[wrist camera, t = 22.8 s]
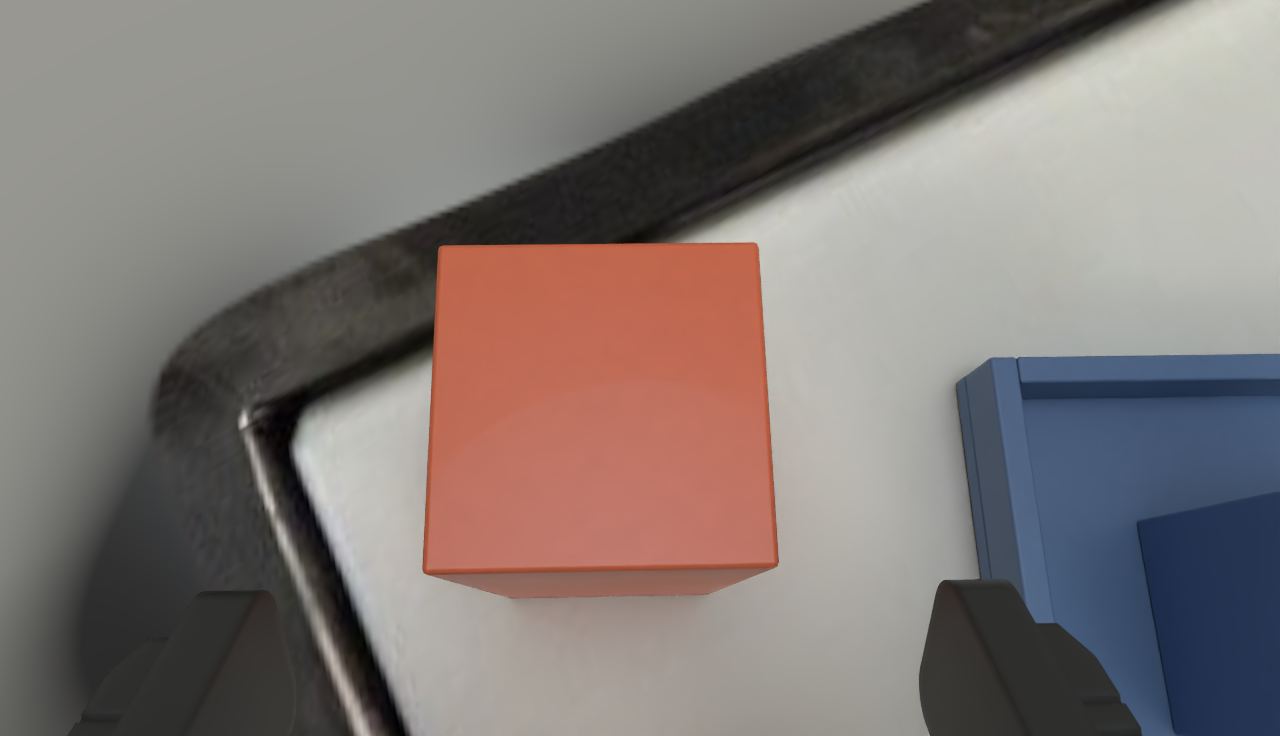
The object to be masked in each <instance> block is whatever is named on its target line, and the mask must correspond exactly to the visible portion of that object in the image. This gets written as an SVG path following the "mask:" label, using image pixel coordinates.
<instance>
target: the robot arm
mask: <svg viewBox="0 0 1280 736" xmlns="http://www.w3.org/2000/svg"><path fill="white" fill-rule="evenodd" d="M919 691H920V700H921V707H922V711H923V716H924V719H925V722H926V725H927V728H928V731H929V734H930V736H1143V735H1142V732H1141V729H1142V728H1141V727H1140V725H1139V723H1138V722H1137V720H1136V719H1135V717H1134V716H1133V714H1132V712H1131V711H1130V709H1129V708H1128V706H1127V704H1126V703H1122V702H1121V698H1120V697H1121V695H1120V693H1119V692H1118V690H1117V689H1116V687H1115V686H1114V684H1113V682H1112V681H1111V679H1110V678H1109V676H1108V674H1107V673H1106V671H1105V670H1104V668H1103V667H1102V665H1101V663H1100V662H1099V660H1098V659H1097V657H1096V656H1095V655H1094V654H1093V653H1092V652H1091V651H1089V650H1088V649H1087V648H1086V647H1085V646H1084V645H1082V644H1081V643H1080V642H1079V641H1078V640H1077V639H1075V638H1074V637H1073V636H1072V635H1071V634H1070V633H1068V632H1067V631H1066V630H1065V629H1064V628H1063V627H1062V626H1060V625H1059V624H1058V623H1036V622H1035V620H1034V619H1033V617H1032V615H1031V614H1030V612H1029V610H1028V608H1027V607H1026V605H1025V603H1024V601H1023V600H1022V598H1021V596H1020V595H1019V593H1018V591H1017V590H1016V588H1015V587H1014V585H1013V584H1012V583H1011V582H1010V581H1008V580H1006V579H980V580H943V581H942V582H941V583H940V584H939V586H938V588H937V592H936V595H935V600H934V605H933V610H932V614H931V619H930V624H929V629H928V633H927V638H926V643H925V647H924V652H923V657H922V662H921V666H920V674H919ZM296 707H297V685H296V679H295V674H294V670H293V667H292V663H291V659H290V655H289V651H288V648H287V644H286V640H285V636H284V632H283V629H282V625H281V621H280V617H279V613H278V610H277V606H276V602H275V599H274V597H273V595H272V594H271V593H270V592H269V591H267V590H248V591H203V592H200V593H199V594H197V595H196V596H195V597H194V598H193V599H192V601H191V602H190V604H189V606H188V607H187V609H186V610H185V612H184V614H183V615H182V617H181V619H180V620H179V622H178V624H177V625H176V627H175V629H174V630H173V632H172V634H171V636H170V637H168V638H148V639H147V640H146V641H145V642H144V643H143V644H141V646H139V647H138V648H137V649H136V650H135V651H133V652H132V653H131V654H130V655H129V656H128V657H127V658H125V659H124V660H123V661H122V662H121V663H119V664H118V665H117V666H116V667H115V668H114V669H112V670H111V671H110V672H109V673H108V674H107V676H106V677H105V679H104V680H103V682H102V683H101V685H100V687H99V688H98V690H97V691H96V693H95V694H94V696H93V697H92V699H91V701H90V702H89V703H88V705H87V707H86V708H85V710H84V711H83V713H82V714H81V715H82V719H81V721H80V723H76V724H75V725H74V727H73V728H72V730H71V731H70V733H69V734H68V736H290V735H291V732H292V729H293V725H294V720H295V715H296Z"/></svg>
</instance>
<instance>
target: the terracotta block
mask: <svg viewBox="0 0 1280 736" xmlns="http://www.w3.org/2000/svg"><path fill="white" fill-rule="evenodd" d="M778 562H779V559H778V543H777V528H776V512H775V496H774V481H773V465H772V449H771V434H770V418H769V403H768V387H767V371H766V356H765V340H764V324H763V309H762V293H761V277H760V262H759V248H758V246H757V244H756V243H662V244H559V245H455V246H440V248H439V250H438V264H437V284H436V305H435V325H434V345H433V366H432V386H431V406H430V427H429V447H428V467H427V488H426V508H425V528H424V549H423V572H424V573H425V574H427V575H430V576H433V577H437V578H441V579H444V580H448V581H451V582H455V583H459V584H462V585H466V586H469V587H473V588H477V589H480V590H484V591H487V592H491V593H494V594H498V595H502V596H505V597H509V598H556V597H605V596H655V595H704V594H709V593H712V592H714V591H717V590H719V589H722V588H725V587H727V586H730V585H732V584H735V583H737V582H740V581H742V580H745V579H747V578H750V577H752V576H755V575H757V574H760V573H763V572H765V571H768V570H770V569H773V568H775V567H777V565H778Z"/></svg>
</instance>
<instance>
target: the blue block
mask: <svg viewBox="0 0 1280 736" xmlns="http://www.w3.org/2000/svg"><path fill="white" fill-rule="evenodd" d="M1138 530H1139V535H1140V541H1141V546H1142V552H1143V557H1144V563H1145V569H1146V574H1147V580H1148V585H1149V591H1150V596H1151V602H1152V607H1153V613H1154V619H1155V624H1156V630H1157V635H1158V641H1159V646H1160V652H1161V657H1162V663H1163V669H1164V674H1165V680H1166V685H1167V691H1168V696H1169V702H1170V707H1171V713H1172V719H1173V724H1174V730H1175V733H1176V734H1177V735H1179V736H1280V491H1277V492H1272V493H1267V494H1263V495H1258V496H1253V497H1248V498H1243V499H1239V500H1234V501H1229V502H1224V503H1220V504H1215V505H1210V506H1205V507H1200V508H1196V509H1191V510H1186V511H1181V512H1176V513H1172V514H1167V515H1162V516H1157V517H1152V518H1148V519H1143V520H1140V521H1138Z"/></svg>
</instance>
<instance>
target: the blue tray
mask: <svg viewBox="0 0 1280 736" xmlns="http://www.w3.org/2000/svg"><path fill="white" fill-rule="evenodd" d="M956 386H957V394H958V402H959V410H960V417H961V425H962V433H963V441H964V449H965V457H966V464H967V472H968V480H969V488H970V496H971V504H972V511H973V519H974V527H975V535H976V543H977V551H978V558H979V566H980V574H981V579H1006V580H1008V581H1010V582H1011V583H1012V584H1013V585H1014V587H1015V588H1016V590H1017V591H1018V593H1019V595H1020V596H1021V598H1022V600H1023V601H1024V603H1025V605H1026V607H1027V608H1028V610H1029V612H1030V614H1031V615H1032V617H1033V619H1034V620H1035V622H1036V623H1058V624H1059V625H1060V626H1062V627H1063V628H1064V629H1065V630H1066V631H1067V632H1068V633H1070V634H1071V635H1072V636H1073V637H1074V638H1075V639H1077V640H1078V641H1079V642H1080V643H1081V644H1082V645H1084V646H1085V647H1086V648H1087V649H1088V650H1089V651H1091V652H1092V653H1093V654H1094V655H1095V656H1096V657H1097V659H1098V660H1099V662H1100V663H1101V665H1102V667H1103V668H1104V670H1105V671H1106V673H1107V674H1108V676H1109V678H1110V679H1111V681H1112V682H1113V684H1114V686H1115V687H1116V689H1117V690H1118V692H1119V693H1120V695H1121V697H1120V698H1121V702H1122V703H1126V704H1127V706H1128V708H1129V709H1130V711H1131V712H1132V714H1133V716H1134V717H1135V719H1136V720H1137V722H1138V723H1139V725H1140V727H1141V728H1142V729H1141V732H1142V735H1143V736H1179V735H1177V734H1176V733H1175V730H1174V724H1173V719H1172V713H1171V707H1170V702H1169V696H1168V691H1167V685H1166V680H1165V674H1164V669H1163V663H1162V657H1161V652H1160V646H1159V641H1158V635H1157V630H1156V624H1155V619H1154V613H1153V607H1152V602H1151V596H1150V591H1149V585H1148V580H1147V574H1146V569H1145V563H1144V557H1143V552H1142V546H1141V541H1140V535H1139V530H1138V521H1140V520H1143V519H1148V518H1152V517H1157V516H1162V515H1167V514H1172V513H1176V512H1181V511H1186V510H1191V509H1196V508H1200V507H1205V506H1210V505H1215V504H1220V503H1224V502H1229V501H1234V500H1239V499H1243V498H1248V497H1253V496H1258V495H1263V494H1267V493H1272V492H1277V491H1280V354H1235V355H1159V356H1083V357H1019V358H1017V359H1016V358H1013V357H1007V358H990V359H989V360H987V361H986V362H985V363H983V364H982V365H981V366H979V367H978V368H976V369H975V370H974V371H972V372H971V373H970V374H968V375H967V376H966V377H964V378H962V379H961V380H960V381H958V382H957V384H956Z"/></svg>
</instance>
